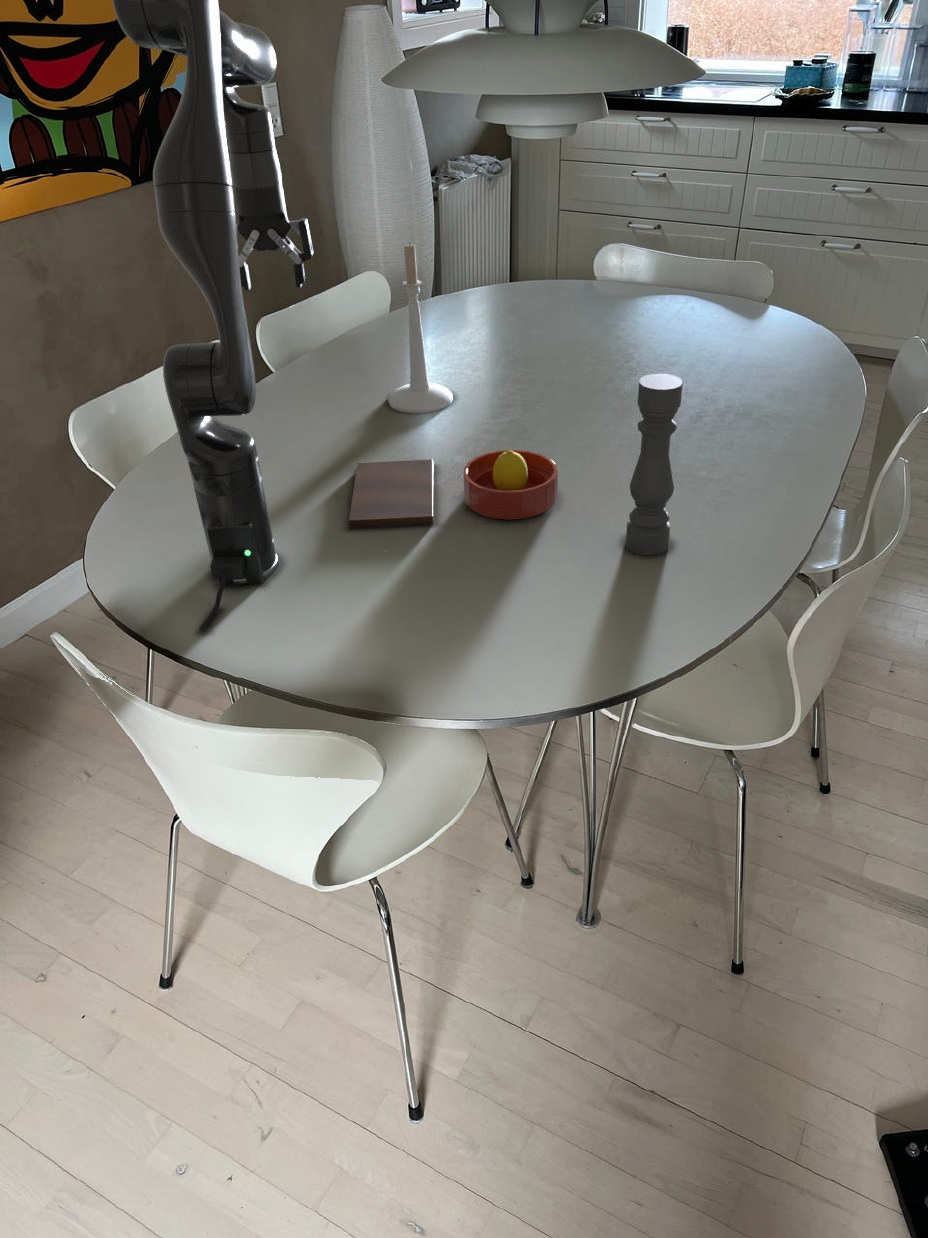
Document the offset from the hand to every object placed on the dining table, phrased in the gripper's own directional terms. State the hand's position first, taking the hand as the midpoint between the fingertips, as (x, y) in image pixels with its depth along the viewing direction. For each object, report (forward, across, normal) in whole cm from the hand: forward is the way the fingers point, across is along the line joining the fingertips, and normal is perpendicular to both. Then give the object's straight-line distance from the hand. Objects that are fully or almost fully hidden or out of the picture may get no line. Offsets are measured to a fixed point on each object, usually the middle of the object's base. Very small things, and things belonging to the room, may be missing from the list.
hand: (273, 287), depth 154 cm
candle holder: (+29, +56, -42) cm, 76 cm away
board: (+28, +18, -22) cm, 40 cm away
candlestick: (+28, +22, +18) cm, 40 cm away
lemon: (+28, +37, -26) cm, 53 cm away
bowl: (+28, +37, -26) cm, 53 cm away
